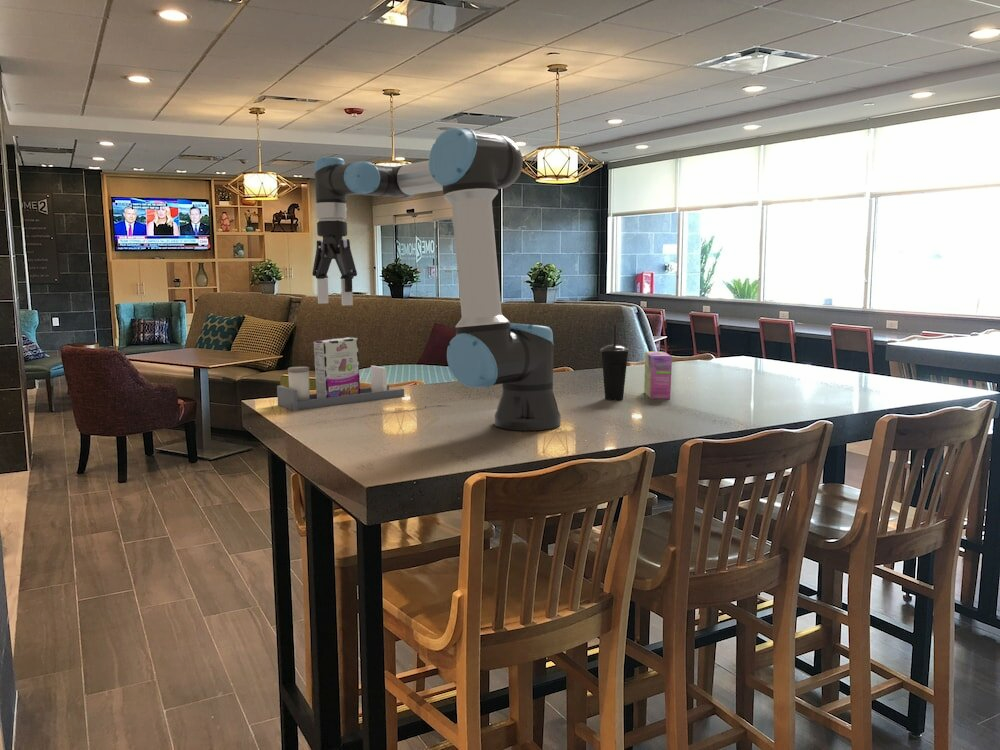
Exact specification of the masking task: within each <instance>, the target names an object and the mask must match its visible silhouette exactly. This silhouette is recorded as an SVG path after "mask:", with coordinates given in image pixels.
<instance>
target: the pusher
mask: <svg viewBox="0 0 1000 750" xmlns="http://www.w3.org/2000/svg"><path fill="white" fill-rule="evenodd" d="M370 382H371V385H370V387H371V391H372V392H379V391H387V382H388V381H387V368H386V367H383V366H377V365H370Z"/></svg>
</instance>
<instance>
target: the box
mask: <svg viewBox="0 0 1000 750" xmlns="http://www.w3.org/2000/svg"><path fill="white" fill-rule="evenodd" d="M672 366H673V356H672V355H671V354H669V353H667V352H666V351H645V353H644V381H643V382H644V385H643V386H644V387H643V392H644V394H646V395H647V396H648V397H649V399H650V400H651V399H652V400H668V399H669V400H670V399H671V392H672V390H671V389H672V370H673V369H672Z"/></svg>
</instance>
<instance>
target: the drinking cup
mask: <svg viewBox="0 0 1000 750" xmlns="http://www.w3.org/2000/svg"><path fill="white" fill-rule="evenodd" d="M629 352H630V349H629V348H627V347H626V346H624V345H621V344H617V325H616V324H614V325H613V343H612V344H608V345H605V346H604V347H601V348H600V353H601V362H602V377H603V387H604V388H603V389H604V399H605V400H607V401H622V400H624V392H625V384H626V375H627V365H628V355H629Z"/></svg>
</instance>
